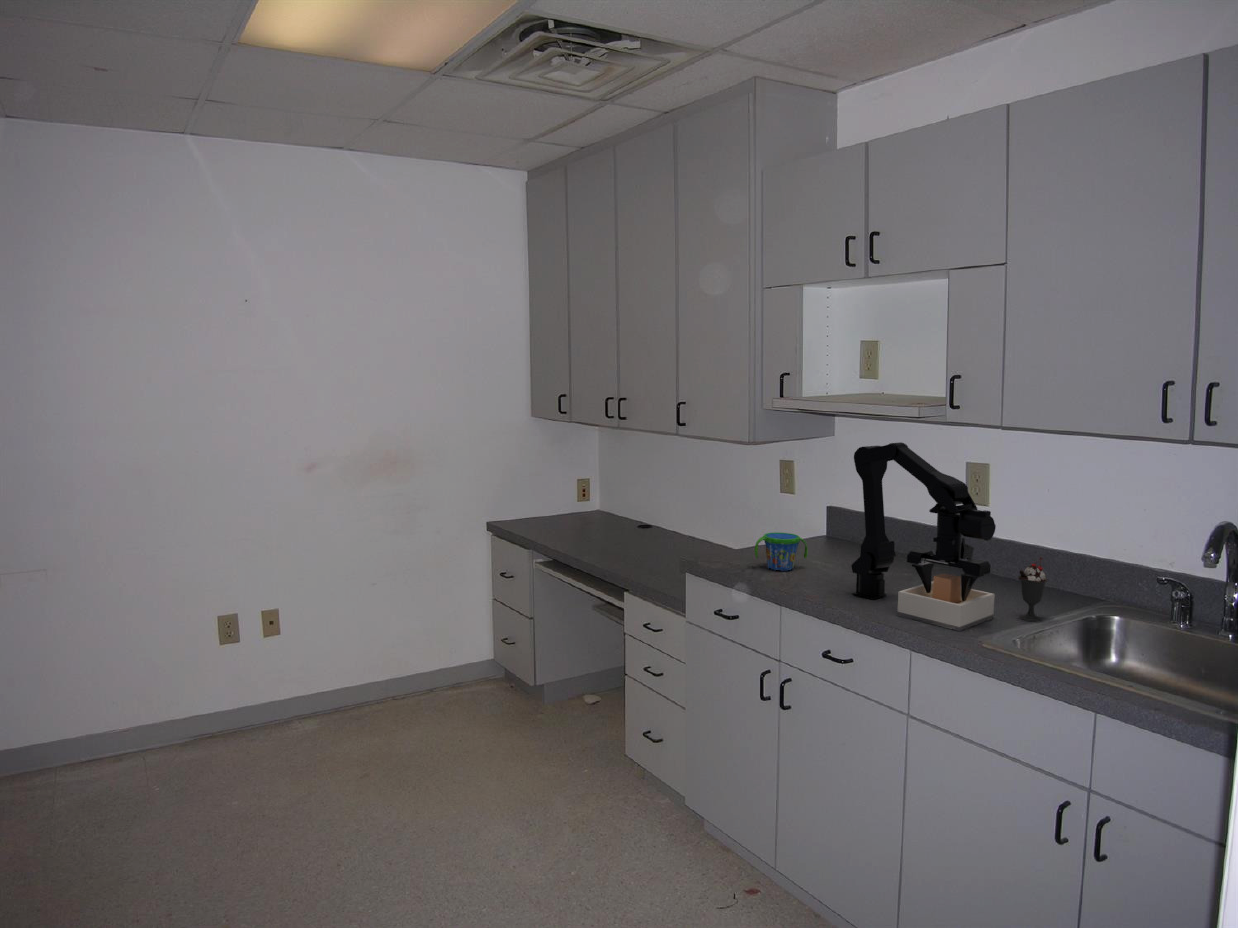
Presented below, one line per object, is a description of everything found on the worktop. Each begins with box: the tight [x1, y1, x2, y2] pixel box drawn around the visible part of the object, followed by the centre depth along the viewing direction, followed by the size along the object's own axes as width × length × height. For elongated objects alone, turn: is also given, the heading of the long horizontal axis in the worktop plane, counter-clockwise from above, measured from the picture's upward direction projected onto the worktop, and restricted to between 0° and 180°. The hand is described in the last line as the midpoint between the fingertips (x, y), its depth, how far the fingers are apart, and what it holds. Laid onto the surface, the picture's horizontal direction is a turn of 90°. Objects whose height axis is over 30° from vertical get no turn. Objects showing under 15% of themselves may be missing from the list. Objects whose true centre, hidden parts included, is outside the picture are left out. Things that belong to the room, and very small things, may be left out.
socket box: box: [896, 580, 996, 632], centre depth 210 cm, size 16×16×6 cm
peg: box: [933, 573, 961, 604], centre depth 210 cm, size 4×4×9 cm
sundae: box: [1017, 557, 1049, 623], centre depth 208 cm, size 7×7×15 cm
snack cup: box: [754, 531, 809, 572], centre depth 258 cm, size 16×10×10 cm
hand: (946, 596), depth 210 cm, fingers open, 9 cm apart
